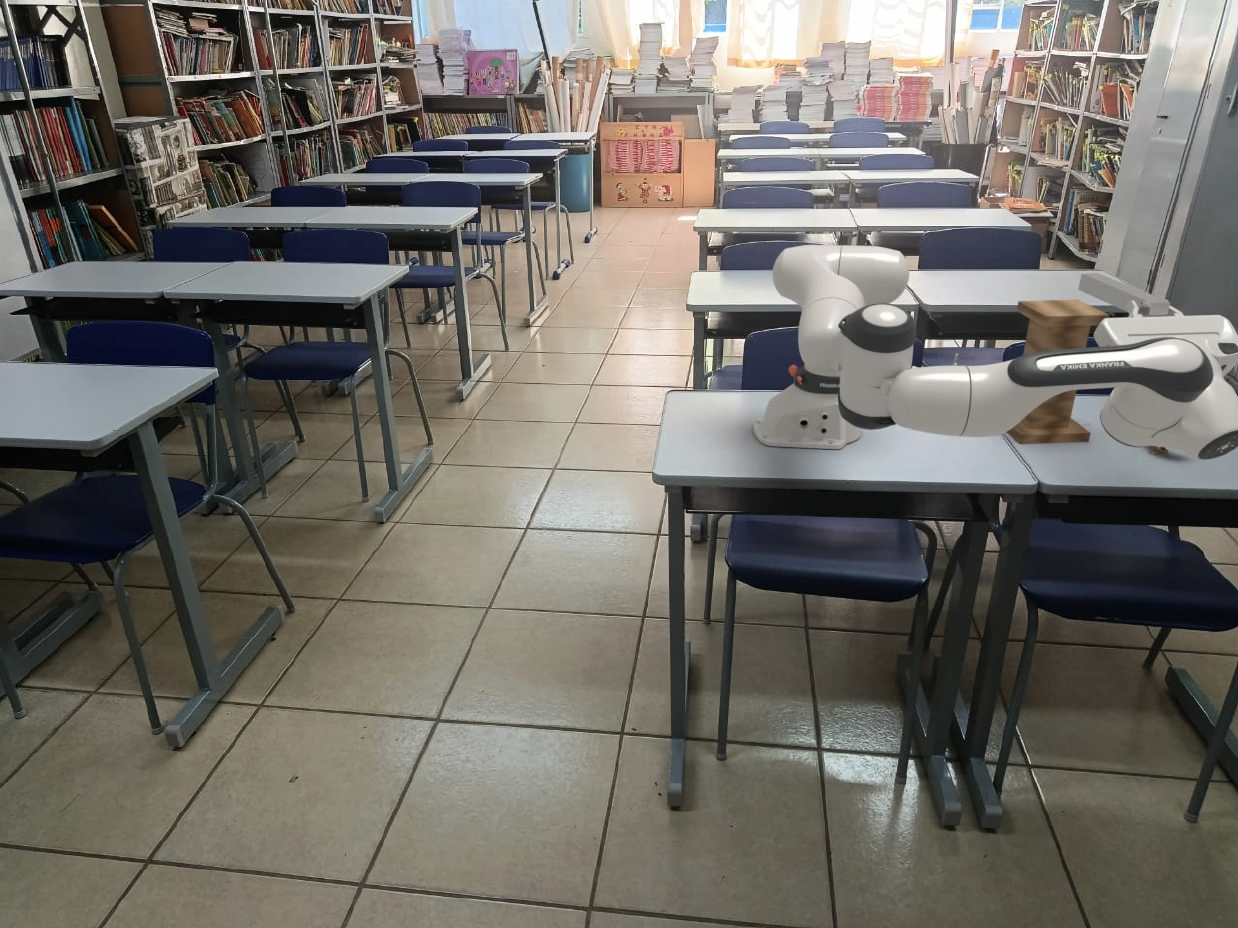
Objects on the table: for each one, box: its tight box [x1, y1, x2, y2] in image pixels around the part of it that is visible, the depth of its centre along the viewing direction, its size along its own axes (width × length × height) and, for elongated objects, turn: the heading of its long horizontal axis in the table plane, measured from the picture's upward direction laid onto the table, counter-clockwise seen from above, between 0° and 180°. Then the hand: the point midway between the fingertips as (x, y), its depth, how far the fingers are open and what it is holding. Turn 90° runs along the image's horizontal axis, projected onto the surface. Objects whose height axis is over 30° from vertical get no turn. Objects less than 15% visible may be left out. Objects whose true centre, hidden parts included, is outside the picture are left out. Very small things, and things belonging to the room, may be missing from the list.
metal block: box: [1078, 272, 1171, 317], centre depth 144 cm, size 3×22×3 cm, turn 0°
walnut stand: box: [1006, 299, 1110, 445], centre depth 169 cm, size 14×14×26 cm
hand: (1146, 303), depth 137 cm, fingers closed on metal block, 3 cm apart
